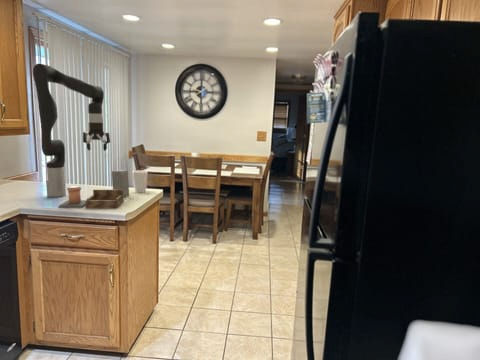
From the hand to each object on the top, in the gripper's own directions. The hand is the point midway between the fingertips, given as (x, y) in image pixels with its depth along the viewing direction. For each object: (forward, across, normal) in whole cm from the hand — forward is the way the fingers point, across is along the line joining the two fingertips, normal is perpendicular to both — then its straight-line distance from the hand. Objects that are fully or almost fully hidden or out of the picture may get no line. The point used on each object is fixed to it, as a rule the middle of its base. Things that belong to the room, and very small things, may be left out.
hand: (97, 150), depth 197 cm
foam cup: (+28, +20, +20) cm, 40 cm away
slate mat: (+28, -8, -16) cm, 33 cm away
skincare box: (+28, +11, +6) cm, 31 cm away
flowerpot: (+27, -8, -16) cm, 32 cm away
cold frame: (+28, +8, -16) cm, 33 cm away
